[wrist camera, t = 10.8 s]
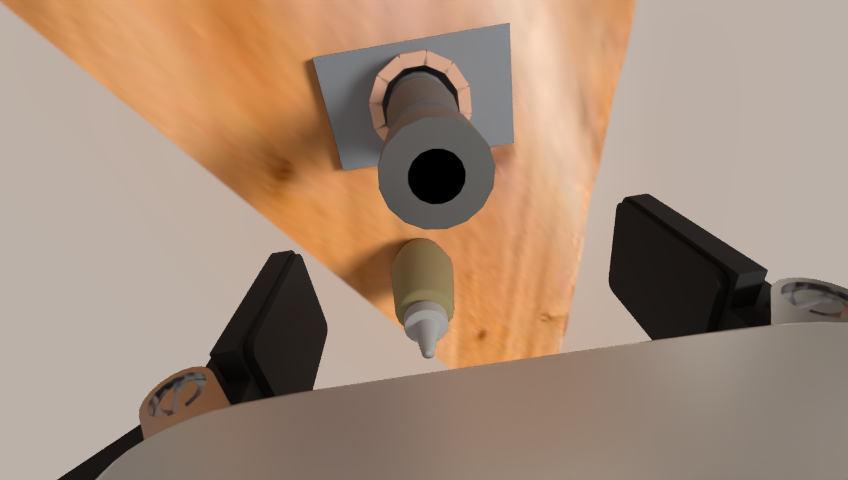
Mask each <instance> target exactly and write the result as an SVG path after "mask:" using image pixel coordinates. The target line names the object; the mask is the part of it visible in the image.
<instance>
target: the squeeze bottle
mask: <svg viewBox="0 0 848 480" xmlns="http://www.w3.org/2000/svg"><path fill="white" fill-rule="evenodd" d="M391 279H392V287H393V295H394V304H395V312H396V316H397V318H398V321H399V322H400V323H401V324H402V325H403V326H404V330H405V333H406V335H407V336H408V337H409V338H410V339H411V340H413V341H415V342H418V344H419V347H420V350H421V352H422V355H423V357H424V358H432V357H433V356H434V353H435V348H436V343H437V341H438V340H439V339H441V338H443V337H444V335H445V334H446V333H447V330H448V323H449V321H450V320H451V319H452V318H453V313H454V280H453V266H452V262H451V259H450V257H449V256H448V255H447V254H446V253H445V252H444V250H443V249H442V248H441V247H439V246H438V245H437V244H436V243H435V242H433V241H431V240H429V239H423V238H418V239H414V240H411V241H409V242H408V243H407V244H405V245H404V246H403V247H402V249H401V250H400V251H399V253H398V254H397V255H396V257H395V259H394V260H393V262H392V266H391Z"/></svg>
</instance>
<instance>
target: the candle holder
mask: <svg viewBox="0 0 848 480" xmlns="http://www.w3.org/2000/svg"><path fill="white" fill-rule="evenodd" d="M387 125H388V128H389V130H388V133H387V135H386V138H385V141H384V144H383V146H382V149H381V154H380V159H379V163H378V179H379V190H380V192H381V194H382V196H383V198H384V200H385V202H386V204H387V206H388V208H389V209H390V210H391V211H392V212H393V213H395V214H396V215H397V216H398V217H399V218H400V219H402V220H403V221H404V222H405V223H408V224H411V225H414V226H417V227H420V228H422V229H448V228H450V227H453V226H456V225H458V224H461V223H463V222H466V221H468V220H469V219H470V218H471V217H472V216H473V215H474V214H475V213H477V212H478V211H479V210H480V209H481V208H482V207H483V206H484V204H485V202H486V200H487V198H488V197H489V195H490V193H491V191H492V189H493V185H494V175H495V163H494V160H493V156H492V153H491V150H490V147H489V144H488V143H487V142H486V140H485V139H484V138H483V137H482V135H481V134H480V133H479V132H478V130H477V129H476V128H475V127H474V126H473V125H472V124H471V123H470V121H469V120H468V119H467V118H466V117H465V116H464V115H463V114H461V113H459V112H458V107H457V104H456V102H455V99H454V96H453V95H452V94H451V93H450V91H449V90H448V89H447V88H446V86H445V85H444V84H443V83H442V82H441V80H440V79H439V78H438V77H437V76H436V75H435V74H433V73H431V72H429V71H426V70H411V71H409V72H407V73H404V74H402V75H401V76H400V77H399V79H398V80H397V81H396V82H395V83H394V85H393V88H392V91H391V94H390V98H389V105H388V108H387Z"/></svg>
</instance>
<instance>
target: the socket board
mask: <svg viewBox="0 0 848 480" xmlns="http://www.w3.org/2000/svg"><path fill="white" fill-rule="evenodd" d="M313 61H314V65H315V69H316V72H317V76H318V80H319V83H320V87H321V91H322V94H323V98H324V102H325V105H326V109H327V113H328V116H329V120H330V124H331V127H332V131H333V135H334V139H335V142H336V146H337V150H338V153H339V157H340V161H341V164H342V168H343V171H347V170H353V169H359V168H365V167H371V166H377V165H378V163H379V159H380V154H381V149H382V146H383V144H384V141H385V138H386V135H387V133H388V130H389V128H388V125H387V108H388V105H389V98H390V94H391V91H392V88H393V85H394V83H395V82H396V81H397V80H398V79H399V77H400V76H401V75H402V74H404V73H407V72H409V71H411V70H426V71H429V72H431V73H433V74H435V75H436V76H437V77H438V78H439V79H440V80H441V82H442V83H443V84H444V85H445V86H446V88H447V89H448V90H449V91H450V93H451V94H452V95H453V96H454V99H455V102H456V104H457V107H458V112H459V113H461V114H463V115H464V116H465V117H466V118H467V119H468V120H469V121H470V123H471V124H472V125H473V126H474V127H475V128H476V129H477V130H478V132H479V133H480V134H481V135H482V137H483V138H484V139H485V140H486V142H487V143H488V144H489V147H491V146H497V145H503V144H509V143H514V132H513V104H512V76H511V48H510V23H506V24H500V25H494V26H489V27H483V28H477V29H472V30H466V31H460V32H455V33H449V34H443V35H438V36H432V37H426V38H421V39H415V40H410V41H404V42H398V43H393V44H387V45H381V46H376V47H370V48H364V49H359V50H353V51H347V52H342V53H336V54H330V55H325V56H319V57H314V58H313Z"/></svg>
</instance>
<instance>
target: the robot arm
mask: <svg viewBox="0 0 848 480" xmlns="http://www.w3.org/2000/svg"><path fill="white" fill-rule="evenodd" d="M767 271H768V270H767V269H765V268H764V267H762V266H761V265H759V264H757V263H756V262H754V261H753V260H751V259H750V258H748V257H746V256H745V255H743V254H742V253H740V252H739V251H737V250H736V249H734V248H732V247H731V246H729V245H728V244H726V243H725V242H723V241H721V240H720V239H718V238H717V237H715V236H714V235H712V234H711V233H709V232H707V231H706V230H704V229H703V228H701V227H700V226H698V225H696V224H695V223H693V222H692V221H690V220H689V219H687V218H685V217H684V216H682V215H681V214H679V213H678V212H676V211H674V210H673V209H671V208H670V207H668V206H667V205H665V204H664V203H662V202H660V201H659V200H657V199H656V198H654V197H653V196H651V195H649V194H642V195H636V196H629V197H625V198H624V199H623V201H622V203H619V204H618V205H617V208H616V217H615V226H614V235H613V244H612V253H611V262H610V271H609V285H610V288H611V290H612V292H613V293H614V294H615V295H616V297H617V298H618V299H619V300H620V301H621V303H622V304H623V305H624V306H625V308H626V309H627V310H628V311H629V312H630V313H631V315H632V316H633V317H634V319H635V320H636V321H637V322H638V323H639V325H640V326H641V327H642V328H643V329H644V331H645V332H646V333H647V334H648V336H649V337H650V338H651V339H652V341H646V342H638V343H631V344H624V345H617V346H610V347H603V348H596V349H589V350H582V351H575V352H568V353H562V354H555V355H548V356H541V357H534V358H527V359H520V360H513V361H506V362H500V363H493V364H486V365H479V366H473V367H466V368H459V369H452V370H445V371H438V372H432V373H425V374H418V375H411V376H404V377H398V378H391V379H384V380H377V381H371V382H364V383H358V384H351V385H344V386H338V387H331V388H325V389H318V390H313V386H314V382H315V379H316V374H317V371H318V367H319V363H320V360H321V356H322V351H323V348H324V344H325V340H326V336H327V323H326V320H325V317H324V314H323V312H322V309H321V306H320V304H319V301H318V298H317V296H316V293H315V290H314V288H313V285H312V282H311V280H310V277H309V274H308V271H307V269H306V266H305V263H304V261H303V258H302V256H301V255H300V254H295V253H294V251H292V250H290V251H284V252H278V253H272V254H271V255H270V257H269V259H268V260H267V262H266V263H265V265H264V266H263V268H262V270H261V271H260V273H259V275H258V276H257V278H256V279H255V281H254V283H253V284H252V286H251V288H250V289H249V291H248V292H247V294H246V296H245V297H244V299H243V300H242V302H241V304H240V305H239V307H238V309H237V310H236V312H235V313H234V315H233V317H232V318H231V320H230V322H229V323H228V325H227V326H226V328H225V330H224V331H223V333H222V335H221V336H220V338H219V339H218V341H217V343H216V344H215V346H214V348H213V349H212V351H211V352H210V356H211V359H210V360H209V362H208V364H207V365H206V367H202V366H201V367H191V368H188V369H185V370H182V371H180V372H177V373H175V374H173V375H171V376H170V377H168V378H167V379H165V380H164V381H162V382H161V383H160V384H158V385H157V386H156V387H155V388H154V389H153V390H152V391H151V392H150V393H149V394H148V396H147V397H146V398H145V399H144V401H143V403H142V405H141V407H140V410H139V419H140V423H141V424H140V425H139V426H137V427H136V428H134V429H133V430H131V431H130V432H128V433H127V434H125V435H124V436H122V437H121V438H119V439H118V440H116V441H115V442H113V443H112V444H110V445H109V446H107V447H106V448H104V449H103V450H101V451H100V452H98V453H97V454H95V455H94V456H92V457H91V458H89V459H88V460H86V461H85V462H83V463H82V464H80V465H79V466H77V467H76V468H74V469H73V470H71V471H70V472H68V473H67V474H65V475H64V476H62V477H61V478H59V479H58V480H848V289H846V288H844V287H841V286H838V285H835V284H832V283H828V282H824V281H820V280H816V279H808V278H786V279H781V280H778V281H776V282H775V283H773V285H771V284H769V283H768V282H766V281H765V277H766V274H767Z"/></svg>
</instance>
